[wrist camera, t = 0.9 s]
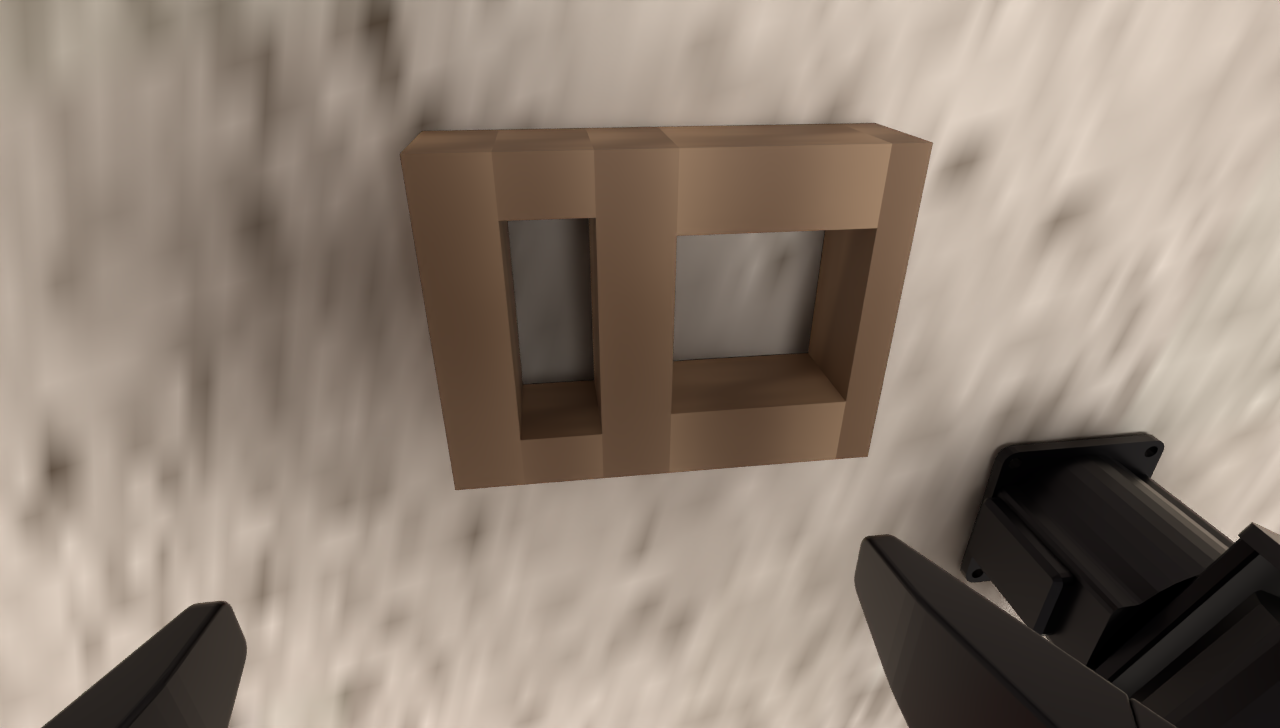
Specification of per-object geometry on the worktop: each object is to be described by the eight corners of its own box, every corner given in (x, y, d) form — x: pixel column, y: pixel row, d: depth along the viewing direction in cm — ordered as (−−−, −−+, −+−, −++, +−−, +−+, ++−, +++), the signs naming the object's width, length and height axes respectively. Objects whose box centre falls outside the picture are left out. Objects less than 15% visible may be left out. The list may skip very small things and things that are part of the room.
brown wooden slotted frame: (875, 123, 18) (932, 143, 15) (828, 403, 22) (867, 456, 20) (421, 131, 16) (399, 154, 14) (465, 429, 21) (455, 490, 18)
